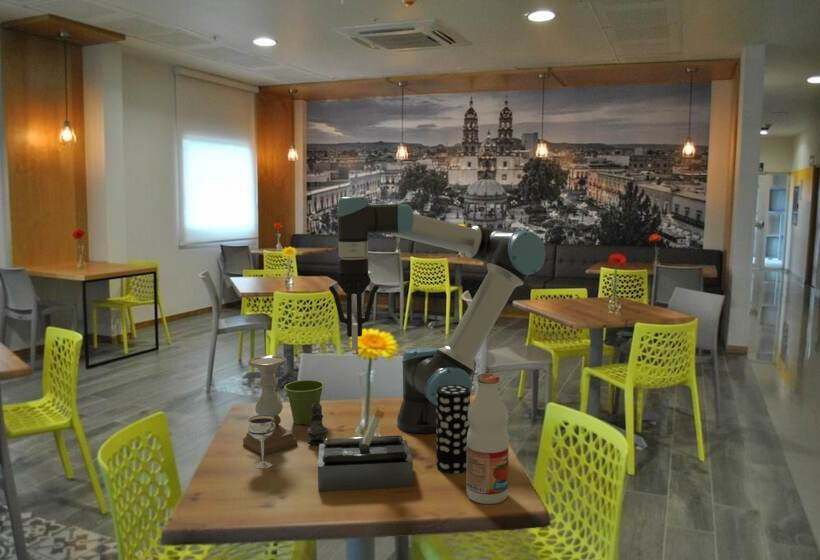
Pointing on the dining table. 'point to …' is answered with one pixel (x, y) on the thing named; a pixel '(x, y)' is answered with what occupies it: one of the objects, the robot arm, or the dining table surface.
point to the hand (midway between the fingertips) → (354, 348)
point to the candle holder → (269, 407)
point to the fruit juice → (487, 444)
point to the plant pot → (303, 399)
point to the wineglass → (262, 434)
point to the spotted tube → (452, 428)
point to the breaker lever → (371, 429)
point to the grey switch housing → (364, 464)
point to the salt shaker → (316, 426)
